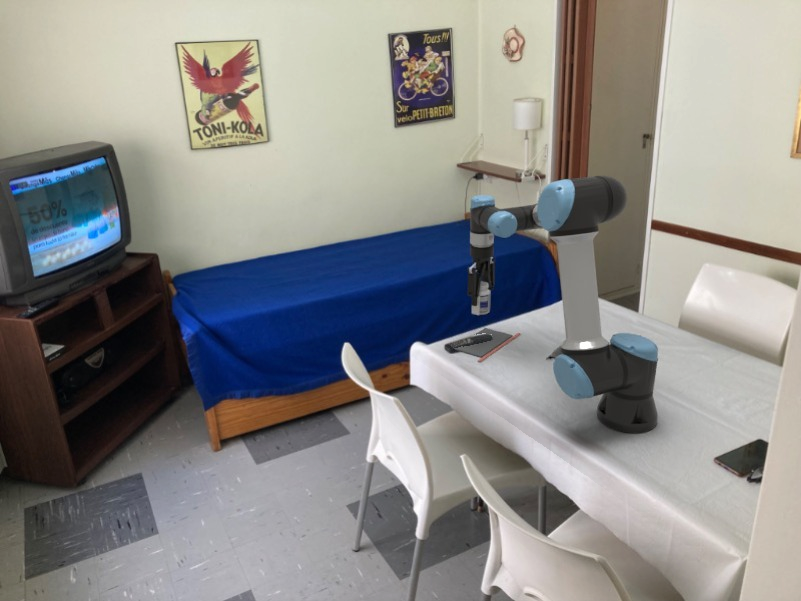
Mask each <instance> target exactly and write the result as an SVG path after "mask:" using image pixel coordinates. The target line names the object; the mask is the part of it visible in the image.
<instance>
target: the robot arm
mask: <svg viewBox="0 0 801 601" xmlns="http://www.w3.org/2000/svg"><path fill="white" fill-rule="evenodd" d="M627 205H628V191H627V189H626V187H625V186H624V184H623V183H622V182H621V181H620V180H619V179H617V178H615V177H612V176H609V175H595V176H589V177H588V176H587V177H578V178H576V177H575V178H566V179H560V180H556V181H551V182H550V183H548V184H547V185H545V187H544V188H543V189H542V191H541V193H540V195H539V197H538V202H537V203H534V204H529V205H522V206H513V207H507V208H506V207H505V208H499V207H496V201H495V198H494V196H492V195H487V194H479V195H475V196H474V195H473V197H472V198H471V199H470V208H469V210H470V211H469V214H470V216H469V217H470V218H469V219H470V222H469V224H470V225H469V226H470V228H469V229H470V230H469V244H470V245H469V256H470V257H471V258H472V263H471V264H472V265H471V266H467V268H466V270H467V289H466V290H467V293H466V294H467V296H469V297H471V314H472V315H477V316H481V314H480V296H478V295H479V290H480V284H481V281H483V282H487V283H488V284H489V287H488V289H489V291H490V294H491V291H493V290H494V288H495V285H496V282H495V281H496V279H495V278H496V277H495V276H496V274H495V272H496V271H495V270H496V267H495V266H496V257H493V256H494V252H495V250H494V247H495V246H494V242H495V241H494V238H495V236H496V237H499V238H502V239H503V238H505V239H506V238H509V237H511V236H512V235H514V234H515V233H518V232H519V233H520V232H524V231H531V230H538V229H539V230H541V229H543V230H545V231H547V232H549V233H548V234H549V238H550V239H551V240H552V241H553V242H555V244H556V249H557V250H556V251H557V260H558V268H559V269H558V270H559V279H560V280H559V281H560V290H561V299H562V300H561V301H562V310H563V319H564V321H563V322H564V328H565V329H564V330H565V339H564V341H563V342H562V343H561V344H560V346H561V354H562V355H559V356H557V357H556V358H554V360H553V364H552V368H553V369H552V370H553V371H552V372H553V375H554V377H555V381H556V382H557V384H558V387H559V388H560V389H561V391H562V393H564V394H565V395H566V396H567V397H569V398H571V399H573V400H582V399H591V398H593V397H598V396H600V395H602V396H601V398H600V400H599V402H598V404H597V411H596V415H597V419H598V420H599V421H600V423H602V424H603V425H604V426H606V427H607V428H610V429H611V430H615V431H617V432H622V433H628V434H641V433H646V432H649V431H650V430H652V429H654V428H655V427H656V426H657V423H658V411H657V407H656V402H655V399H654V391H655V390H654V389H655V388H654V387H655V382H656V374H657V366H658V361H659V358H658V357H659V356H658V352H659V348H658V346H657V344H656V343H655V342H654V341H653V340H651V339H650V338H647V337H646V336H642V335H639V334H636V333H629V332H619V333H618V332H617V333H614V334H612V335H611V337H610V339H609V340H608V339H606V338H605V337H604V336H603V335H602V324H601V313H600V302H599V293H598V292H599V291H598V290H599V289H598V281H597V272H596V271H597V270H596V260H595V259H596V258H595V248H594V239H595V237H596V236H598V234H599V224H604V223H609V222H612V221H614V220H616V219H617V218H619V216H621V215H622V214H623V213H624V211H625V210H626V207H627ZM609 342H610V344H609Z"/></svg>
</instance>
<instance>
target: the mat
mask: <svg viewBox="0 0 801 601" xmlns="http://www.w3.org/2000/svg"><path fill="white" fill-rule="evenodd" d="M482 333H486V334H492V336H493V340H491V341H487V342H483V343H479V344H474V345H470V346H464V347H463V346H461V347H458V348H454V347H453V348H454V349H455V350H454V351H456V352H460V353H463V354H466V355H471V356H473V357H476V358H479V359H481V358H482V357H484V356H485V355H487V354H488V353H490V352H491V351H492V350H494V349H495V348H497V347H498V346H500V345H501V344H503V343H504V342H505V341H507V340H508V339H510V338H511V337H513V336H514V335H512V334H510V333H506V332H503V331H497V330H495V329H490V328H487V327H484V328H482V329H481V330H479V331H478V332H476V333H475V334H476V335H477V334H482Z"/></svg>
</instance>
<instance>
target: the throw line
mask: <svg viewBox="0 0 801 601" xmlns="http://www.w3.org/2000/svg"><path fill="white" fill-rule="evenodd" d="M521 334H522V333H520V332H517V333H516V334H514V335H513V336H512V337H511V338H510V339H508V340H507V341H505V342H504V343H502V344H501V345H499V346H498V347H496V348H495V349H494V350H492V351H491V352H489V353H488V354H486V355H485V356H483V357H482V358H479V359H478V360H477V363H482V362H483V361H484V360H486V359H488V358H489V357H491V356H492V355H494V354H495V353H496V352H498V351H499V350H500V349H502V348H503V347H505V346H507V345H508V344H509V343H510V342H512V341H514V340H515V339H516V338H518V337H519V336H521Z"/></svg>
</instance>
